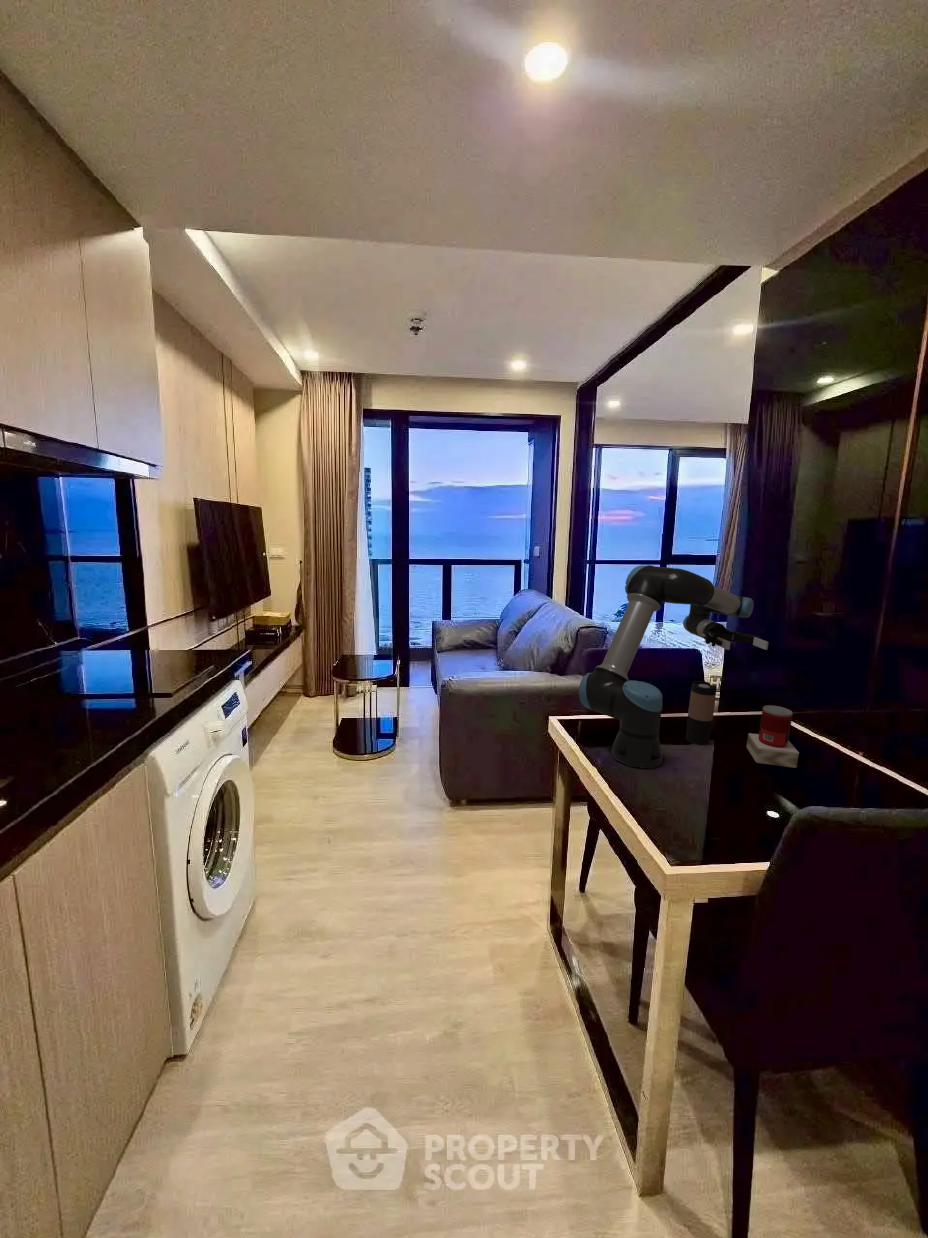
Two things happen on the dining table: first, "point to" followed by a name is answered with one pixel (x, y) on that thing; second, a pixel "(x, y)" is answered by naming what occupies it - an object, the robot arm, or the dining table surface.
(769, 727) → the canned food
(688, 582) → the robot arm
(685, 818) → the dining table surface
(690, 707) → the travel mug
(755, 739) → the birch plinth
